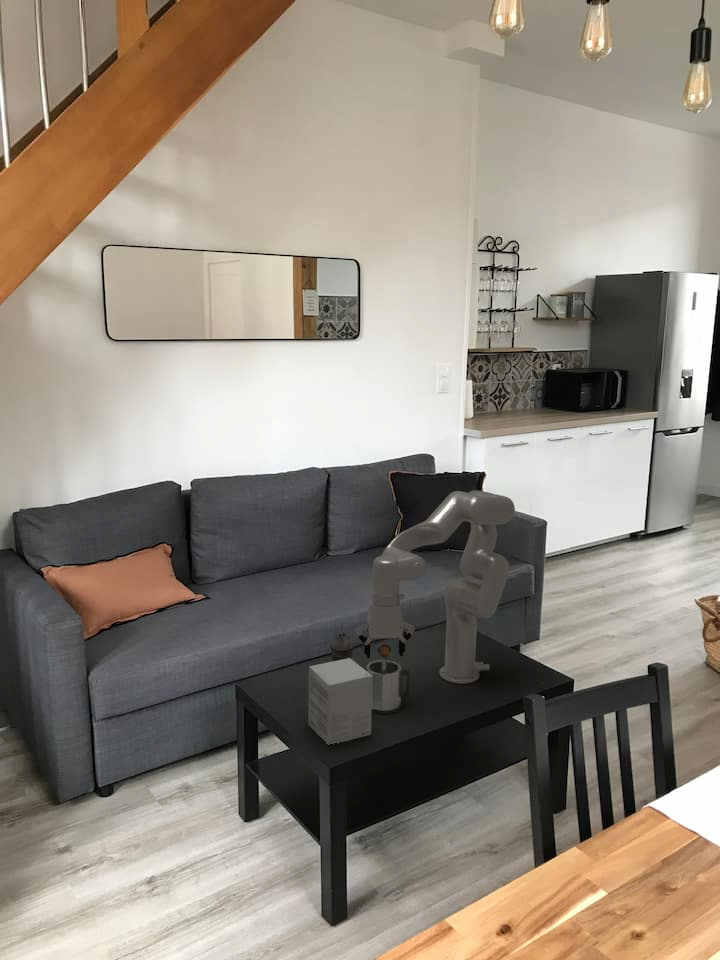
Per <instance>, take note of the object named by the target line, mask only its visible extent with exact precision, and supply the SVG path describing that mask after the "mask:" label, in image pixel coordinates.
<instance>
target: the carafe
mask: <svg viewBox="0 0 720 960" xmlns="http://www.w3.org/2000/svg"><path fill="white" fill-rule="evenodd" d="M365 670H366V671H367V672H368V673H369V674H370V675H372V708H371V713H374V714H378V715H391V714H394V713H396V712H398V711H400V709H401V707H402V706H401V705H402V703H401V701H402V699H405V698H406V699H407V698H410V683H411V681H410V680H411V678H410V677H411V673H410V670H409V669H402V667H401V664H400V663H397V662H396V661H393V660H387V659H386V674H382V659H379V660H374V661H370V662H368V664H367V665H366V666H365ZM402 677H403V678H404V682H403V684H404V685H403V691H402Z"/></svg>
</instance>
